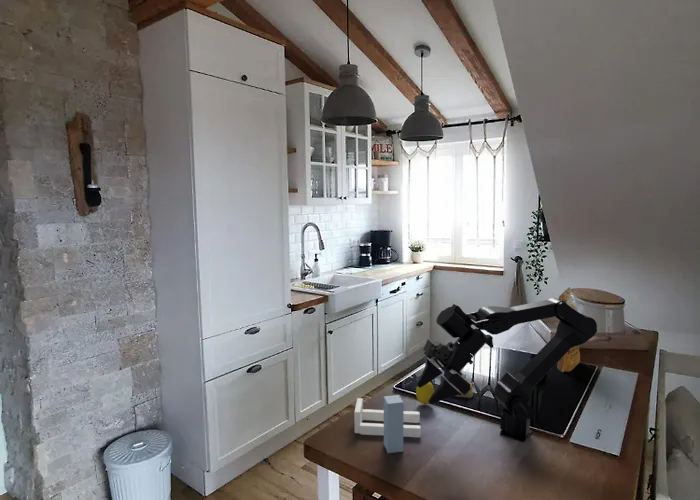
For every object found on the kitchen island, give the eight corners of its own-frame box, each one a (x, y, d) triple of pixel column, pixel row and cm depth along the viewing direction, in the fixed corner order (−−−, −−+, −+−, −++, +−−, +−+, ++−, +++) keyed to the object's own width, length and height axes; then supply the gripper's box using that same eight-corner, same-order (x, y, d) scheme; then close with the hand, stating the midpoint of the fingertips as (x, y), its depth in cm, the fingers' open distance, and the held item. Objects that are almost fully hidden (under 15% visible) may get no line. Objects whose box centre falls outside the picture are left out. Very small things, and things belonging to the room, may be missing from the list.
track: (419, 420, 127) (419, 400, 126) (420, 437, 118) (420, 416, 117) (357, 417, 129) (357, 397, 128) (354, 434, 120) (354, 412, 119)
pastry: (443, 397, 141) (443, 385, 141) (442, 388, 148) (443, 376, 147) (474, 399, 139) (474, 387, 139) (472, 390, 146) (472, 378, 145)
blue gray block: (398, 442, 116) (398, 395, 114) (403, 451, 112) (403, 402, 110) (383, 444, 115) (383, 396, 113) (387, 453, 111) (387, 403, 109)
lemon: (434, 410, 132) (434, 384, 131) (415, 408, 133) (415, 383, 132) (434, 401, 138) (434, 376, 137) (416, 400, 139) (416, 375, 138)
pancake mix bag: (547, 370, 160) (551, 294, 156) (565, 355, 174) (569, 285, 170) (567, 375, 155) (572, 296, 152) (584, 359, 169) (588, 287, 165)
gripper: (430, 318, 121) (392, 361, 121) (457, 341, 103) (412, 391, 103) (458, 343, 123) (420, 385, 123) (489, 370, 105) (445, 419, 105)
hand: (423, 394), depth 114 cm, fingers open, 9 cm apart
